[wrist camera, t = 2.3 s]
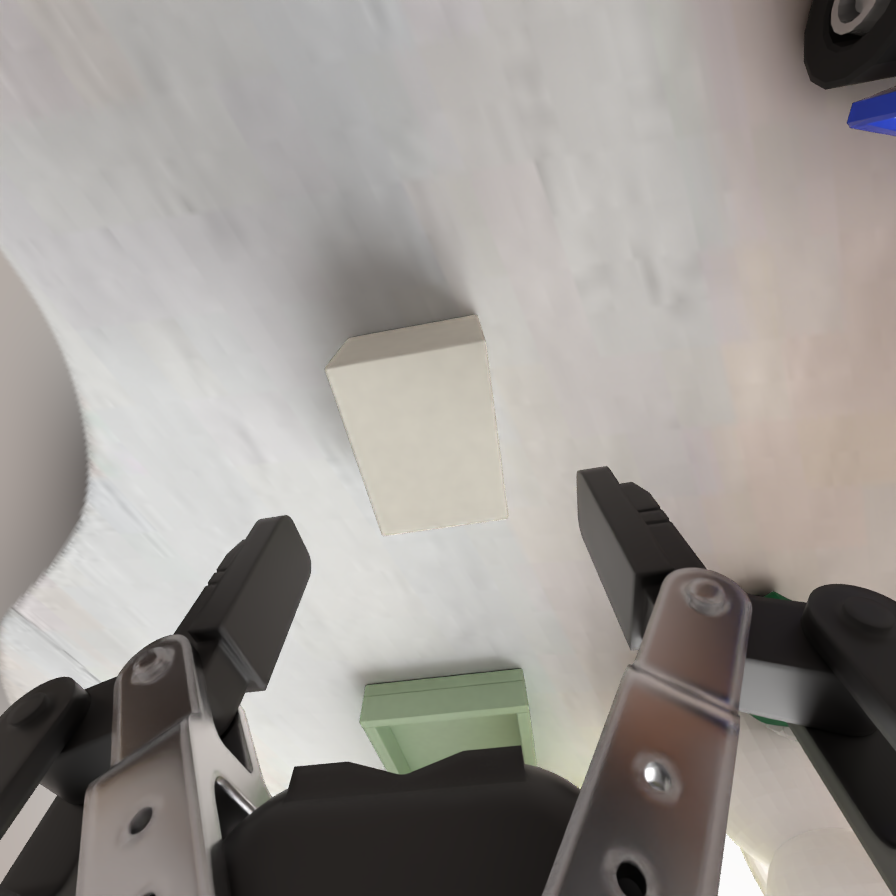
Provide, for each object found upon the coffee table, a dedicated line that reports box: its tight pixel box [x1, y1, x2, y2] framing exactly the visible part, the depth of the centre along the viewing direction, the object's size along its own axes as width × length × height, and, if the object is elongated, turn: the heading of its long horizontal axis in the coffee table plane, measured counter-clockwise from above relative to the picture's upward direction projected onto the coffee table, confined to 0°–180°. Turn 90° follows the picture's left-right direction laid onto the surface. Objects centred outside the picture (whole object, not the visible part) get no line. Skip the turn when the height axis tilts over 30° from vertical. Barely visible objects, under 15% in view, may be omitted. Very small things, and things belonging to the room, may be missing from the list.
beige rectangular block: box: [325, 315, 508, 536], centre depth 15 cm, size 7×5×4 cm
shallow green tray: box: [359, 669, 537, 774], centre depth 29 cm, size 14×11×2 cm
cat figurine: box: [726, 711, 893, 896], centre depth 23 cm, size 9×12×15 cm
